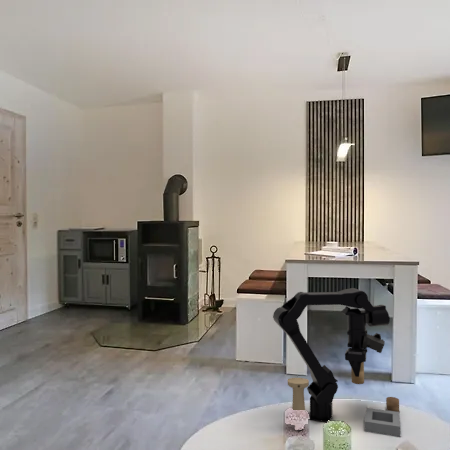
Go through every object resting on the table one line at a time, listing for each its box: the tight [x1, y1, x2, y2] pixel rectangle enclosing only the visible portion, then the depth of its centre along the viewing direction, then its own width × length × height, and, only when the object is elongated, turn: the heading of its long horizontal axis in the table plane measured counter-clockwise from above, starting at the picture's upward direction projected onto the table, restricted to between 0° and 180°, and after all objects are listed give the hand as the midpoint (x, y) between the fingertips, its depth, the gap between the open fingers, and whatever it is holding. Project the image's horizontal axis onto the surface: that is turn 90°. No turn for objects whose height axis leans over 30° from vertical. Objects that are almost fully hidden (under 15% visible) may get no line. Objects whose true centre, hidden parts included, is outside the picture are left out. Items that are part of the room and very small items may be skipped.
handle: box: [287, 377, 310, 411], centre depth 131 cm, size 5×6×15 cm
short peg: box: [385, 396, 400, 412], centre depth 142 cm, size 4×4×4 cm
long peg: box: [350, 362, 365, 385], centre depth 140 cm, size 4×4×8 cm
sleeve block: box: [364, 407, 401, 438], centre depth 131 cm, size 10×10×3 cm
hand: (357, 374), depth 140 cm, fingers closed on long peg, 4 cm apart
